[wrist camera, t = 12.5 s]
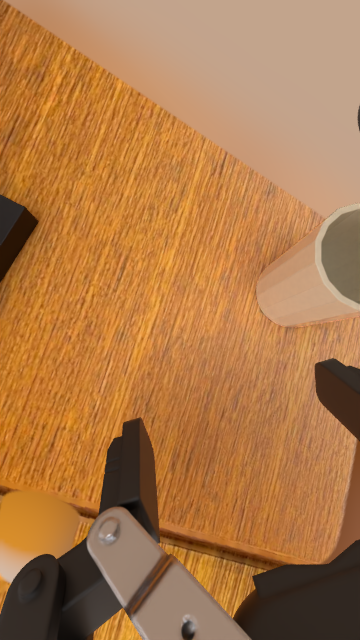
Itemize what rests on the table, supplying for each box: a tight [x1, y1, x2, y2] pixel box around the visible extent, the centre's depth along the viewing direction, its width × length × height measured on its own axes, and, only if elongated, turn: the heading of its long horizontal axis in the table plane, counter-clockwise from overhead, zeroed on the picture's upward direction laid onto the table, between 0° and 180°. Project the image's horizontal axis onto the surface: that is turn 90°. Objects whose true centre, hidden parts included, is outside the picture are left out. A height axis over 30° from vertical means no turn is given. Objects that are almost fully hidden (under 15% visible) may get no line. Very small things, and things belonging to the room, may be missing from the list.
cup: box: [256, 203, 360, 328], centre depth 21 cm, size 7×7×10 cm
